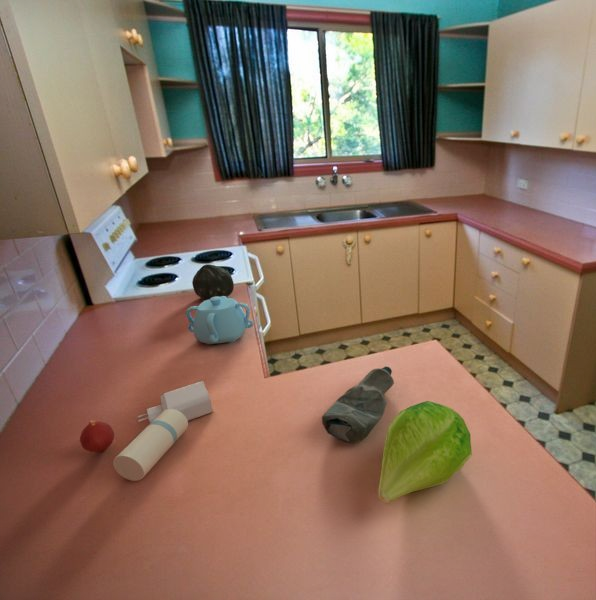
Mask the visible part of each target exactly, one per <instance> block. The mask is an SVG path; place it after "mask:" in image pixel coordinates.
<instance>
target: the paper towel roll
mask: <svg viewBox="0 0 596 600" xmlns="http://www.w3.org/2000/svg"><path fill="white" fill-rule="evenodd" d="M188 428H189V421H187V419H186V417H185V416H184V415H183V414H182V413H181V412H179V411H177V410H174V409H166V410H164V411H163V412H162V413H161V414H160V415H159V416H158V417H157V418H156V419H155V420H154V421H153V422H151V423H150V422H149V423H148V425H147V426H146V427H145V428H144V429H143V430H142V431H141V432H140V433H139V434H138V435H137V436H136V437H135V438H133V440H132V441H130V443H129V444H128V445H126V446H125V448H123V450H121V451H120V452H119V453H118V454H117V455H116V456H115V457H114V459H113V461H112V465H113V468H114V470H115V472H116V473H117V474H118V475H119V476H121V477H122V478H124V479H126V480H129V481H133V482H139V481H141V480H142V479H144V477H146V475H147V474H148V473H149V472H150V471H151V469H152V468H153V467H154V466H155V465H156V464H157V463H158V462H159V460H161V459H162V457H163V456H164V455H165V454H166V453H167V452H168V451H169V449H170V448H171V447H173V446H174V444H175V443H176V442H177V441H178V440H179V438H180V437H181V436H182V435H183V434H184V433H185V432H186V431H187V430H188Z"/></svg>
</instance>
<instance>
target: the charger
mask: <svg viewBox="0 0 596 600" xmlns="http://www.w3.org/2000/svg"><path fill="white" fill-rule="evenodd" d="M159 398H160V402H161V404H157V405H155V406H152V407H148V408H146V413H142V414H140V415H137V422H138V423H141V422H144V421H146V420H148V421H149V424H150V423H151V422H153V421H154V420H155V419H156V418H157V417H158V416H159V415H160V414H161V413H162V412H163V411H164V410H166V409H174V410H177V411H179V412H181V413H182V414H183V415H184V416H185V417H186V419H187V421H188V422H189V421H192V420H194V419H197V418H200V417H203V416H206V415H208V414H211V413H214V409H213V404H212V399H211V397H210V395H209V392H208V389H207V388H206V385H205V383H204V381H203V380H201V381H198V382H193V383H192V384H188V385H186V386H182V387H179V388H176V389H173V390H169V391H166V392H163V394H162V395H161V396H160V397H159ZM143 417H144V418H143Z"/></svg>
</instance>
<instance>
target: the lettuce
mask: <svg viewBox="0 0 596 600" xmlns="http://www.w3.org/2000/svg"><path fill="white" fill-rule="evenodd" d="M382 454H383V455H382V460H381V461H382V462H381V472H380V478H379V484H378V499H379V500H380V501H381V502H382V503H384V504H387V503H391V502H393V501H394V500H397V499H399V498H401V497H403V496H405V495H408V494H409V493H412V492H417V491H420V490H425V489H428V488H432V487H436V486H439V485H442V484H445V483H446V482H448V481H449V480H450V479H451V478H452V477H453V476H454V475H456V473H458V472H459V471H460V470H461V469H462V468H463V467H464V466H465V464H466V463H467V462H468V461H469V459H471V457H472V456H473V450H472V441H471V433H470V430H469V428H468V426H467V424H466V422H465V420H464V418H463V417H462V416H461V414H460V413H458V412H457V411H455V410H454V409H453V408H451V407H449V406H446V405H443V404H440V403H437V402H433V401H431V400H426V401H422V402H420V403H417V404H413V405H411V406H408V407H406V408H404V409H403V410H401V411H400V412H399V413H398V414H397V415H396V416H395V417H394V418H393V420H392V422H391V423H390V425H389V426H388V427H387V431H386V437H385V442H384V448H383V453H382Z"/></svg>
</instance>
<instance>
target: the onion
mask: <svg viewBox="0 0 596 600" xmlns="http://www.w3.org/2000/svg"><path fill="white" fill-rule="evenodd" d="M114 439H115V431H114V429H113V428H112V426H111V425H110V424H109V423H107V422H104V421H97V420H96V421H95V420H90V421H89V422H88V424H87V425H86V426H85V427H84V428H83V429H82V431H81V433H80V436H79V442H80V445H81V447H82V448H83V449H84V450H85V451H87V452H89V453H104V452H105V451H106V450H107V449H109V447H110V445H111V444H112V443H113V442H114Z"/></svg>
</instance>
